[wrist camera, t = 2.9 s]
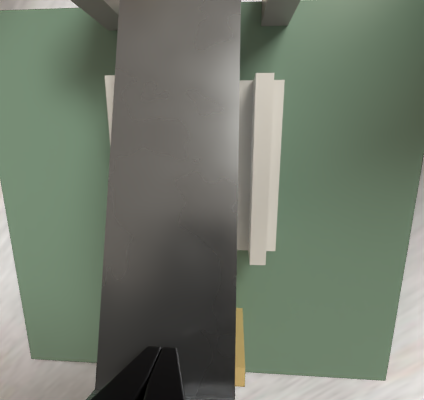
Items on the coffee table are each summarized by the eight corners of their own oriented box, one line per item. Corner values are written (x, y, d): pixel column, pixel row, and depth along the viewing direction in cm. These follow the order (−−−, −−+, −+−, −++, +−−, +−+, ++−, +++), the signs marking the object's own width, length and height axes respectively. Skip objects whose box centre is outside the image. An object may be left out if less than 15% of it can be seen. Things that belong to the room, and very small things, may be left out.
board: (435, -18, 13) (572, -119, 8) (375, 364, 18) (434, 462, 13) (-13, -1, 15) (-151, -75, 10) (43, 345, 20) (-28, 424, 14)
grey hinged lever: (254, -41, 11) (259, -99, 9) (249, 417, 9) (254, 468, 7) (122, -35, 11) (99, -90, 9) (95, 406, 9) (60, 451, 7)
